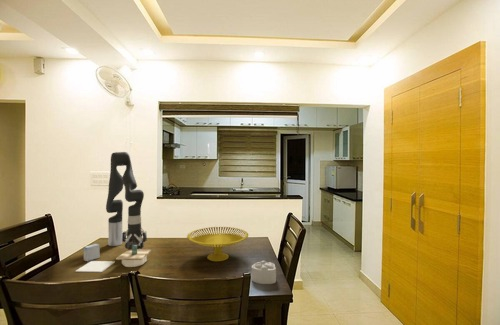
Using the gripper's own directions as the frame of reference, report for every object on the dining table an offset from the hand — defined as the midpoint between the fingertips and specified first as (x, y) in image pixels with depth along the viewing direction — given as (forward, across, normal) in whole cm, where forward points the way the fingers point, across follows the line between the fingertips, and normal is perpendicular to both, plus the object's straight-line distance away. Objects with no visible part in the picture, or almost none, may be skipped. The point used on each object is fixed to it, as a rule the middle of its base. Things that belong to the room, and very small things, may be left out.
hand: (134, 248), depth 160 cm
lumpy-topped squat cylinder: (+9, -79, +18) cm, 82 cm away
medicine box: (+9, +30, -5) cm, 32 cm away
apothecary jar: (+9, +8, -17) cm, 21 cm away
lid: (+4, 0, 0) cm, 4 cm away
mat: (+9, +20, +6) cm, 23 cm away
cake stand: (+9, -50, -12) cm, 52 cm away
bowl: (+9, 0, 0) cm, 9 cm away
